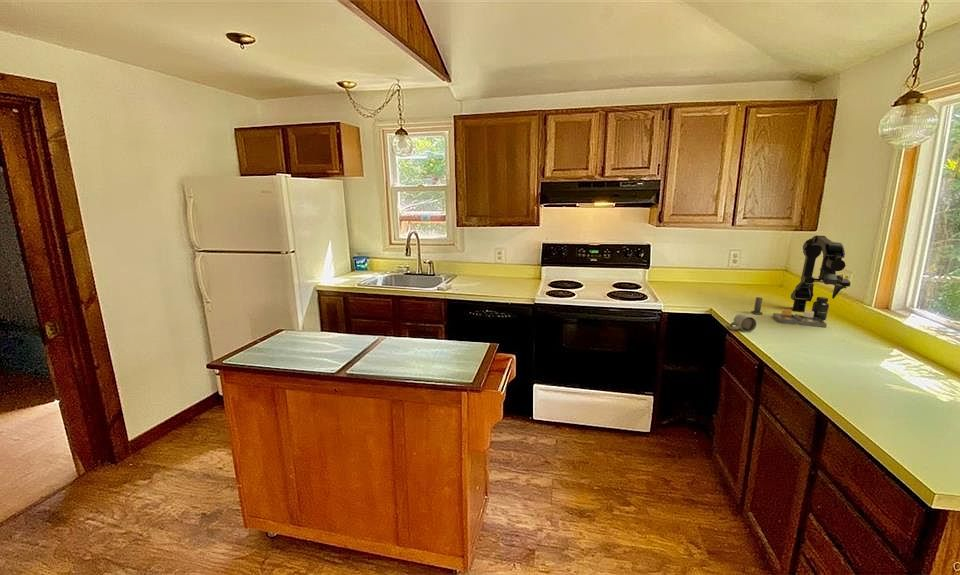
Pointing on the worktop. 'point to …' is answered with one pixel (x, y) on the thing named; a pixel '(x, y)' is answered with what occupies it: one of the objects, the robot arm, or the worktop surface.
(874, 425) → the worktop surface
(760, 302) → the post
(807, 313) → the ivory toggle
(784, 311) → the amber toggle
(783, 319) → the breaker panel
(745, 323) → the ceramic mug
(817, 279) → the robot arm
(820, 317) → the supplement bottle
